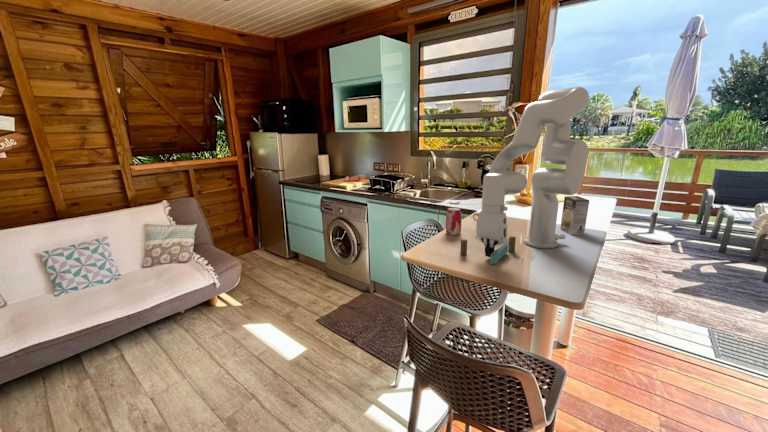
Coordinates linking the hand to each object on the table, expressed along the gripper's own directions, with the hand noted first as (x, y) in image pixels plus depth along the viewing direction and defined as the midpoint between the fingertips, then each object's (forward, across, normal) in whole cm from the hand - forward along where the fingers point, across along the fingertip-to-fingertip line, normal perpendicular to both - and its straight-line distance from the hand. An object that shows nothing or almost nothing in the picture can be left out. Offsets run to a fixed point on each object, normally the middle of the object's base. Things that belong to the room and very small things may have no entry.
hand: (489, 255), depth 113 cm
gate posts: (+1, +3, -5) cm, 6 cm away
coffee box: (+1, -14, -54) cm, 56 cm away
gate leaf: (+1, -3, -2) cm, 4 cm away
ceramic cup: (+1, +15, -27) cm, 31 cm away
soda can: (+1, +27, -17) cm, 32 cm away
